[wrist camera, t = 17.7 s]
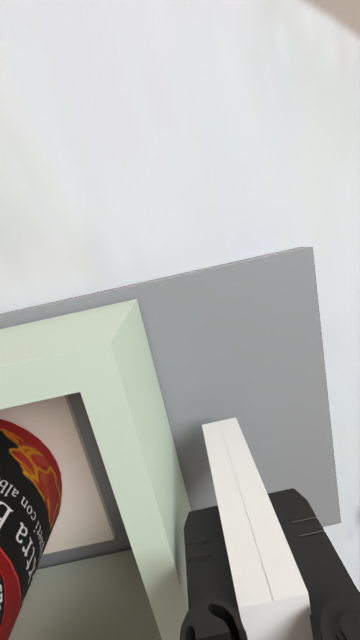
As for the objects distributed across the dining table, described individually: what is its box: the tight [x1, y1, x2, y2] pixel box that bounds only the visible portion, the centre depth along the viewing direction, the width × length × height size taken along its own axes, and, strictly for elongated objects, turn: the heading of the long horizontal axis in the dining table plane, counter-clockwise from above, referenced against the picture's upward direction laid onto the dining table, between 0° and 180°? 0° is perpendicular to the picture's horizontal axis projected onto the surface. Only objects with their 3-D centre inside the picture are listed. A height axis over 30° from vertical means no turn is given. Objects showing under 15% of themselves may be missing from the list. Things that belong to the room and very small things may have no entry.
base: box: [0, 247, 341, 570], centre depth 14 cm, size 22×15×4 cm
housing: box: [0, 299, 191, 640], centre depth 11 cm, size 10×14×6 cm
